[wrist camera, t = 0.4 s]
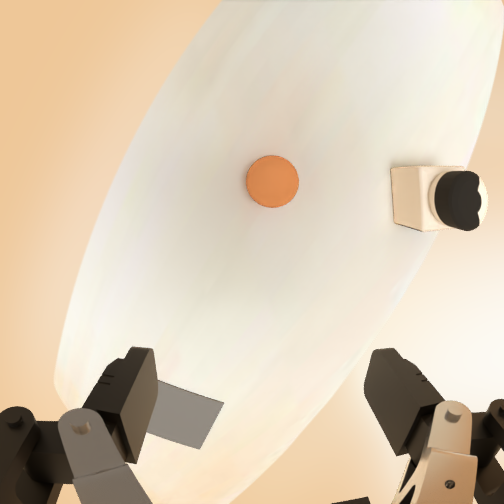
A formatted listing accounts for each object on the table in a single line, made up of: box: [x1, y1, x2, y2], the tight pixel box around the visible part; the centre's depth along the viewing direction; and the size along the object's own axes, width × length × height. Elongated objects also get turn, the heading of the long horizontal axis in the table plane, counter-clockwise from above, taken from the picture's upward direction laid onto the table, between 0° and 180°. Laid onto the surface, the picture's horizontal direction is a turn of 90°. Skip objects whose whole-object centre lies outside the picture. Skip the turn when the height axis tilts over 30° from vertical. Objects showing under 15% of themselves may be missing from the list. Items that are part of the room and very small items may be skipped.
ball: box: [246, 156, 299, 208], centre depth 32 cm, size 6×6×6 cm
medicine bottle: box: [391, 166, 488, 232], centre depth 30 cm, size 7×7×12 cm
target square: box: [146, 380, 224, 449], centre depth 41 cm, size 12×12×1 cm
